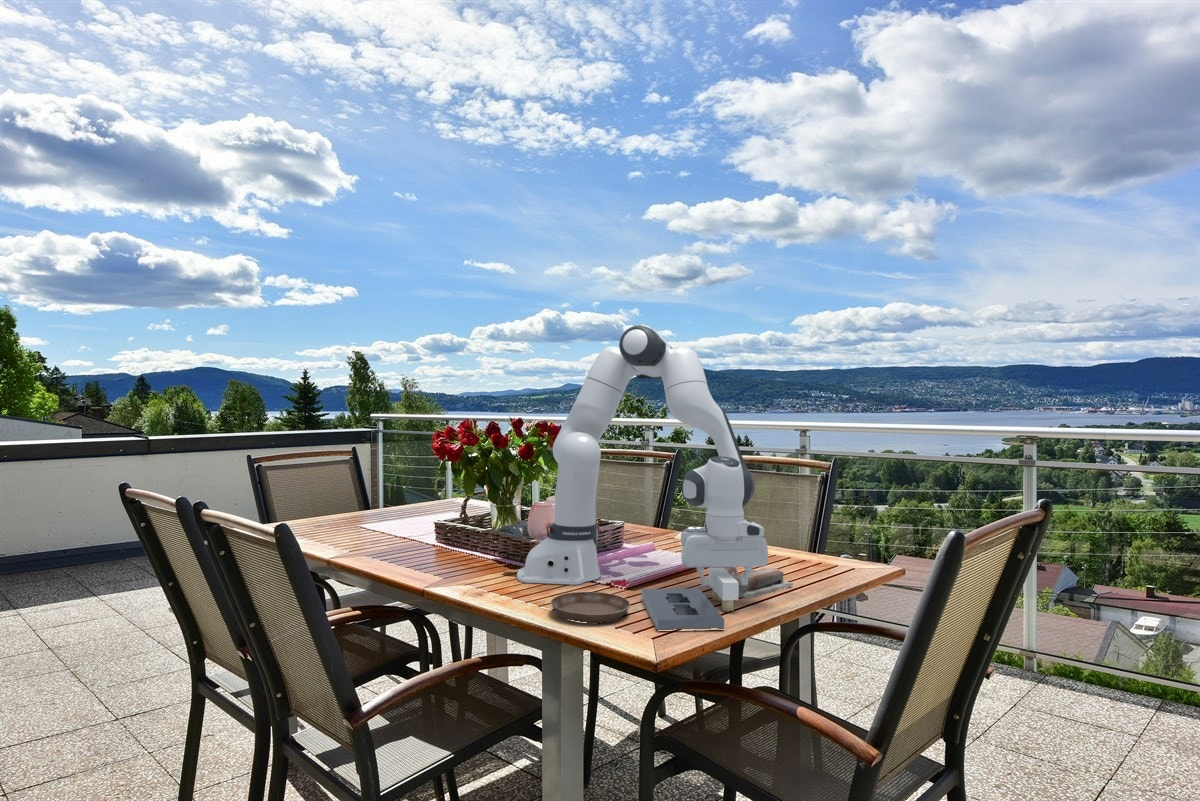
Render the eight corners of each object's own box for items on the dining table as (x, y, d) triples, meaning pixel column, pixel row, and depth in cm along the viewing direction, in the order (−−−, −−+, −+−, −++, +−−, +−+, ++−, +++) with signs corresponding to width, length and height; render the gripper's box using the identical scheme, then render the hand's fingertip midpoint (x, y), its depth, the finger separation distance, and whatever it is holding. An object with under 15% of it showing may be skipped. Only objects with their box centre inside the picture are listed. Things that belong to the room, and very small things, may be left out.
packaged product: (748, 581, 177) (717, 573, 185) (747, 601, 177) (716, 592, 185) (793, 570, 188) (762, 563, 196) (793, 589, 189) (762, 581, 196)
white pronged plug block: (738, 613, 165) (738, 582, 165) (722, 613, 165) (722, 582, 165) (722, 596, 179) (723, 567, 179) (708, 596, 179) (708, 567, 179)
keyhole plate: (723, 630, 153) (724, 618, 153) (657, 631, 152) (657, 619, 152) (699, 598, 177) (699, 588, 177) (641, 599, 176) (641, 589, 176)
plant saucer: (630, 604, 172) (630, 591, 172) (630, 628, 154) (630, 614, 154) (554, 603, 173) (555, 590, 173) (546, 626, 155) (546, 612, 155)
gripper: (683, 529, 168) (683, 589, 168) (770, 528, 170) (770, 588, 170) (678, 524, 174) (678, 582, 175) (762, 523, 176) (762, 581, 176)
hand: (724, 585), depth 172 cm, fingers open, 8 cm apart
